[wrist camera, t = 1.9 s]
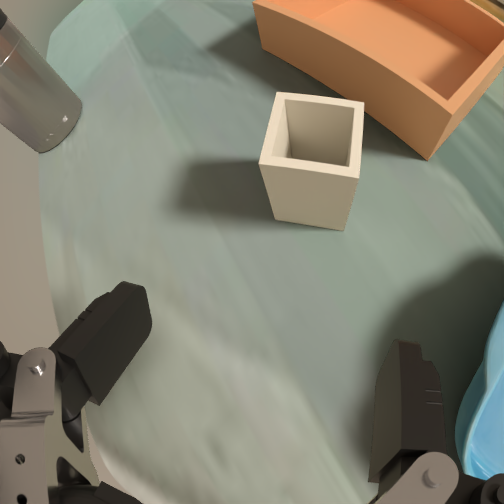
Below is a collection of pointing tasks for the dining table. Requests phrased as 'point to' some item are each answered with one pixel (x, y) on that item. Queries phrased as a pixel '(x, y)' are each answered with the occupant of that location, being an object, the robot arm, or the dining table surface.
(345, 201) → the small crate
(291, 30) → the large crate
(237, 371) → the dining table surface
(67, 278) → the dining table surface
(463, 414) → the casserole dish
